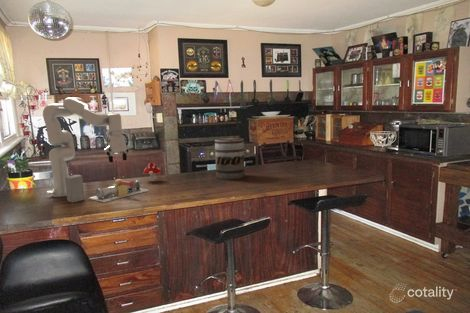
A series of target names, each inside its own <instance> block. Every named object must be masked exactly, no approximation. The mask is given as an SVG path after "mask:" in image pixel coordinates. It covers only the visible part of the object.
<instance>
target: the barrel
mask: <svg viewBox="0 0 470 313" xmlns="http://www.w3.org/2000/svg"><path fill="white" fill-rule="evenodd" d="M214 152H215V154H214V155H215V177H216V179H217V178H218V180H221V179H222V180H223V181H234V179H236V180H241V179H240V178H242V179H244V178H245V175H246V174H245V173H246V172H245V139H244V138H242V137H224V138H222V137H221V138H216V139H214ZM243 177H244V178H243Z"/></svg>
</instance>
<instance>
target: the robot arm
mask: <svg viewBox="0 0 470 313" xmlns="http://www.w3.org/2000/svg"><path fill="white" fill-rule="evenodd" d="M72 115H77V116H79V117H81V118H82V120H83V121H85V122H86V123H88V124H89V125H92V126H94V127H105V126H106V127H108V132H107V136H108V141H107V145H108V146H107V147H106V148H104V149H103V151H104V153H105V155H107V157H108V161H109V163H114V158H113V157H114V156H113V154H115V153H122V161H128V159H127V158H128V156H127V154H128V152H129V149H130V146H129V145H128V144H126V140H125V137H124V136H125V135H123V128H122V127H123V126H122V116H121V114H120V113H96V112H93V111H92V110H91V106H90V105H89V104H87V103H86V102H85V100H84V99H83V98H81V97H78V96H77V97H75V96H74V97H73V96H72V97H66V98H65V99H63V101H62V103H50V104H47V105H46V106H45V107H44V108H43V110H42V117H43V121H44V124H45V126H46V127H45V128H46V130H45V131H46V134H47V139H48V140H47V141H48V143H49V145H51V146H54V148H52V149H51V150H50V151H49V152H48V158H49V162H50V165H51V173H52V183H53V188H52V190H47V191H46V192H45V193H46V195H51V196H52V197H55V198H59V197H67V191H66V182H65V177H68V176H70V175H69V168H68V165H67V163H66V161H71V160H73V159H74V158H75V156H76V148H75V143H74V139H73V135H72V134H71V132H70V131H68V130H62V127H61V122H60V121H59V119H58V118H64V117H71V116H72ZM56 146H59V147H56Z"/></svg>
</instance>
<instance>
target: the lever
mask: <svg viewBox="0 0 470 313" xmlns="http://www.w3.org/2000/svg"><path fill="white" fill-rule="evenodd" d="M114 182H115V183H114V184H117V185H118V184H120V185H126V186H131V187H132V186H134V182H135V180H129V181H127V180H123V179H122V178H118V179H115V181H114Z"/></svg>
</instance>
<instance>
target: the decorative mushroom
mask: <svg viewBox="0 0 470 313" xmlns="http://www.w3.org/2000/svg"><path fill="white" fill-rule="evenodd" d="M161 172H162V170H161V169H160V168H159V167H157V165H156V163H154V162H151V161H150V162H149V163H148V165H147V166H146V167H145V168H144V170H143V172H142V174H144V175H149V178H148V181H149V182H156V181H157V177H156V174H159V173H161Z"/></svg>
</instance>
